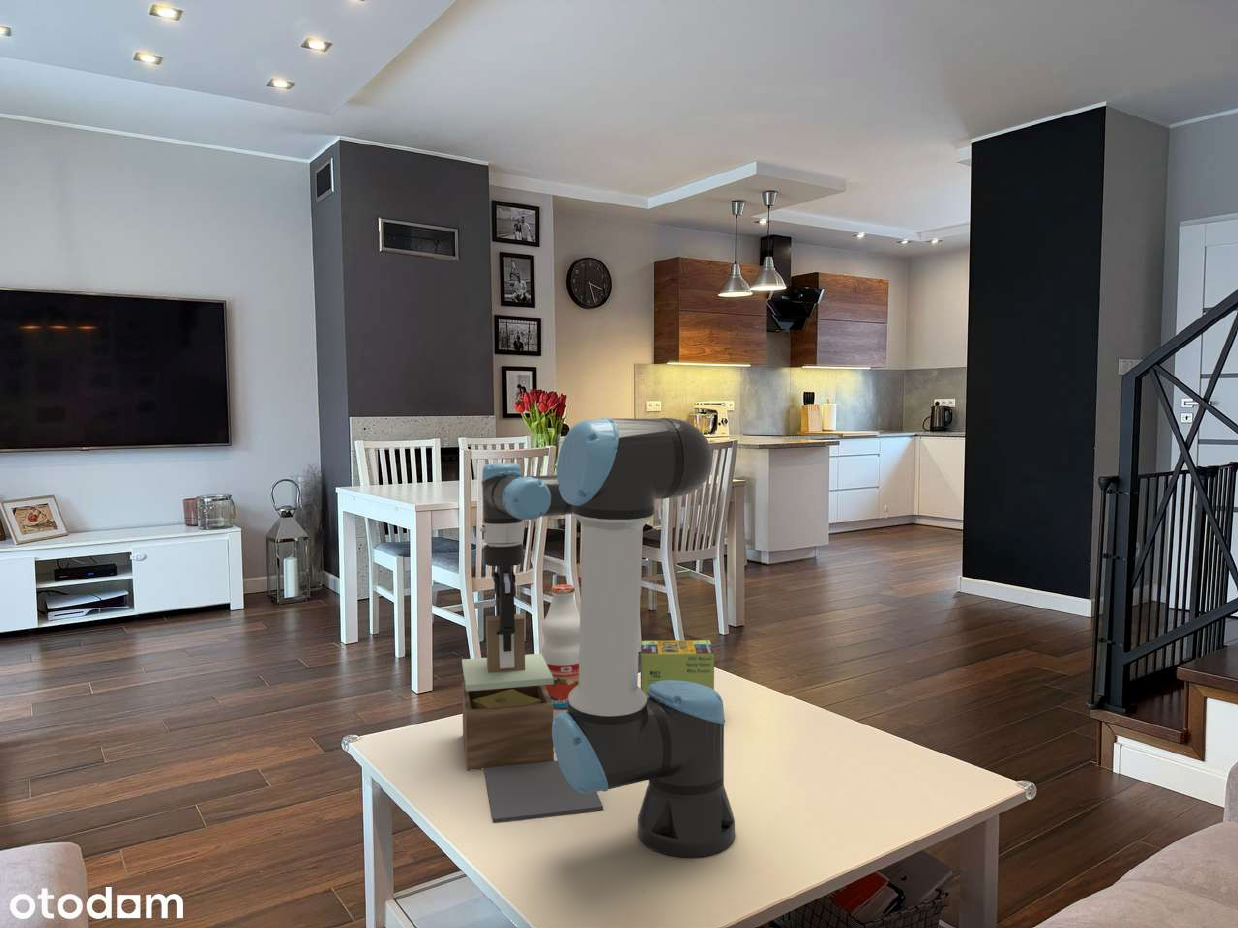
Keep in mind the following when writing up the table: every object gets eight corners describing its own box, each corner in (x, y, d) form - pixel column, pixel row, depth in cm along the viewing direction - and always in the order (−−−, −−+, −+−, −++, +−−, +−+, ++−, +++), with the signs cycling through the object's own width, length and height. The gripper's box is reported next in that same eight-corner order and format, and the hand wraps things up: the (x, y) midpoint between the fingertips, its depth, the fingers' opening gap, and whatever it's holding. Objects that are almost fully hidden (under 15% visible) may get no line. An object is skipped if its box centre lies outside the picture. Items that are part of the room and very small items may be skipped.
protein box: (715, 726, 177) (715, 653, 176) (640, 726, 177) (640, 653, 176) (710, 708, 187) (710, 639, 186) (640, 709, 187) (639, 639, 186)
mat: (603, 809, 140) (603, 806, 140) (493, 822, 136) (493, 818, 136) (581, 761, 160) (581, 758, 160) (484, 770, 156) (484, 767, 156)
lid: (553, 684, 158) (552, 624, 158) (466, 691, 155) (465, 630, 154) (541, 659, 175) (540, 605, 174) (462, 665, 171) (460, 610, 171)
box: (553, 761, 160) (553, 704, 159) (467, 770, 156) (466, 711, 155) (541, 728, 176) (540, 676, 175) (463, 735, 173) (462, 682, 172)
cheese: (499, 764, 159) (498, 712, 158) (469, 747, 167) (468, 697, 166) (544, 749, 165) (544, 699, 165) (513, 734, 174) (512, 686, 173)
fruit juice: (585, 705, 190) (584, 581, 188) (586, 720, 180) (585, 590, 179) (542, 706, 189) (541, 582, 187) (542, 722, 180) (540, 591, 178)
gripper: (480, 538, 171) (483, 653, 172) (487, 551, 154) (489, 678, 156) (518, 536, 173) (520, 650, 174) (528, 549, 156) (530, 674, 157)
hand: (505, 663), depth 165 cm, fingers closed on lid, 4 cm apart
